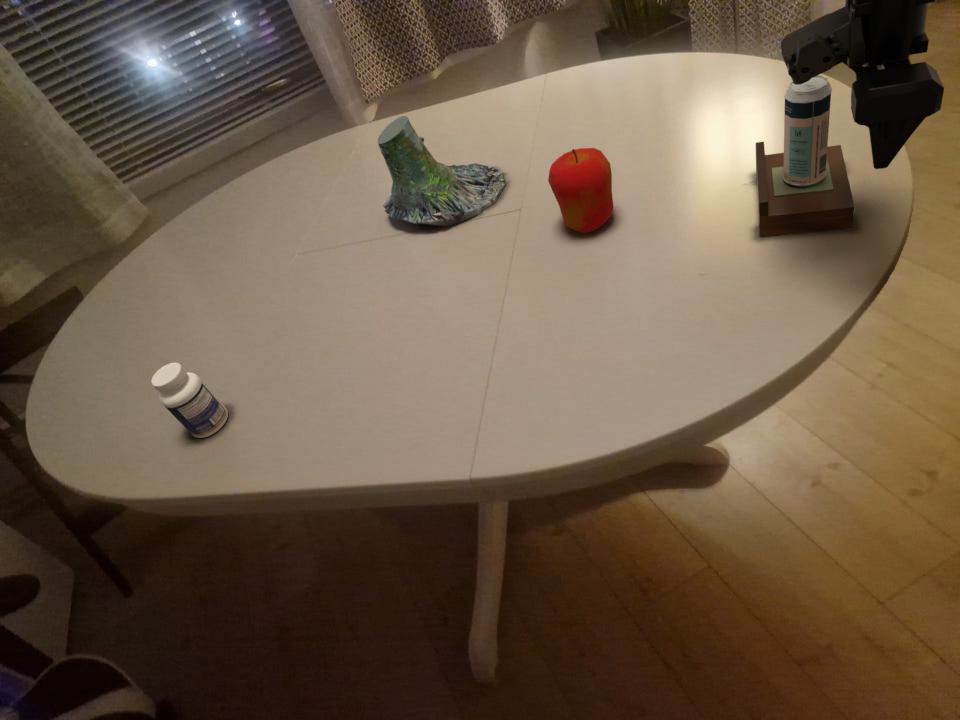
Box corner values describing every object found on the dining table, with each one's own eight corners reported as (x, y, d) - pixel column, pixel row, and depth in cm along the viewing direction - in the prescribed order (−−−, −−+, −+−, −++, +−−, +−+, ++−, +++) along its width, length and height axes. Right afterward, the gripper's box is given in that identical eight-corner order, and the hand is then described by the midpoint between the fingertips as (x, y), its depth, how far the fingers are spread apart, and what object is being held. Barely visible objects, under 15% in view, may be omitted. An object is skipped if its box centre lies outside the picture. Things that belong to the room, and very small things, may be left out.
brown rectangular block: (839, 165, 85) (841, 130, 82) (852, 228, 76) (856, 191, 72) (756, 175, 89) (755, 142, 85) (759, 237, 80) (759, 202, 76)
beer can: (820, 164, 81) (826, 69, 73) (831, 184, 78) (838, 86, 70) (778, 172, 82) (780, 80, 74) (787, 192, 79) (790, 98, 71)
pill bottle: (189, 423, 88) (143, 374, 81) (224, 401, 89) (182, 351, 82) (195, 446, 84) (148, 397, 77) (233, 423, 85) (189, 372, 78)
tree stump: (519, 206, 102) (459, 115, 90) (415, 271, 107) (346, 192, 95) (496, 154, 115) (441, 68, 103) (405, 213, 120) (342, 138, 108)
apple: (618, 236, 88) (604, 159, 80) (558, 245, 91) (538, 171, 83) (621, 201, 94) (607, 126, 86) (564, 210, 97) (546, 138, 89)
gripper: (783, -37, 64) (782, 113, 74) (792, 39, 52) (789, 205, 62) (917, -68, 59) (896, 95, 70) (960, 6, 47) (927, 191, 58)
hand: (874, 143), depth 65 cm, fingers open, 9 cm apart
